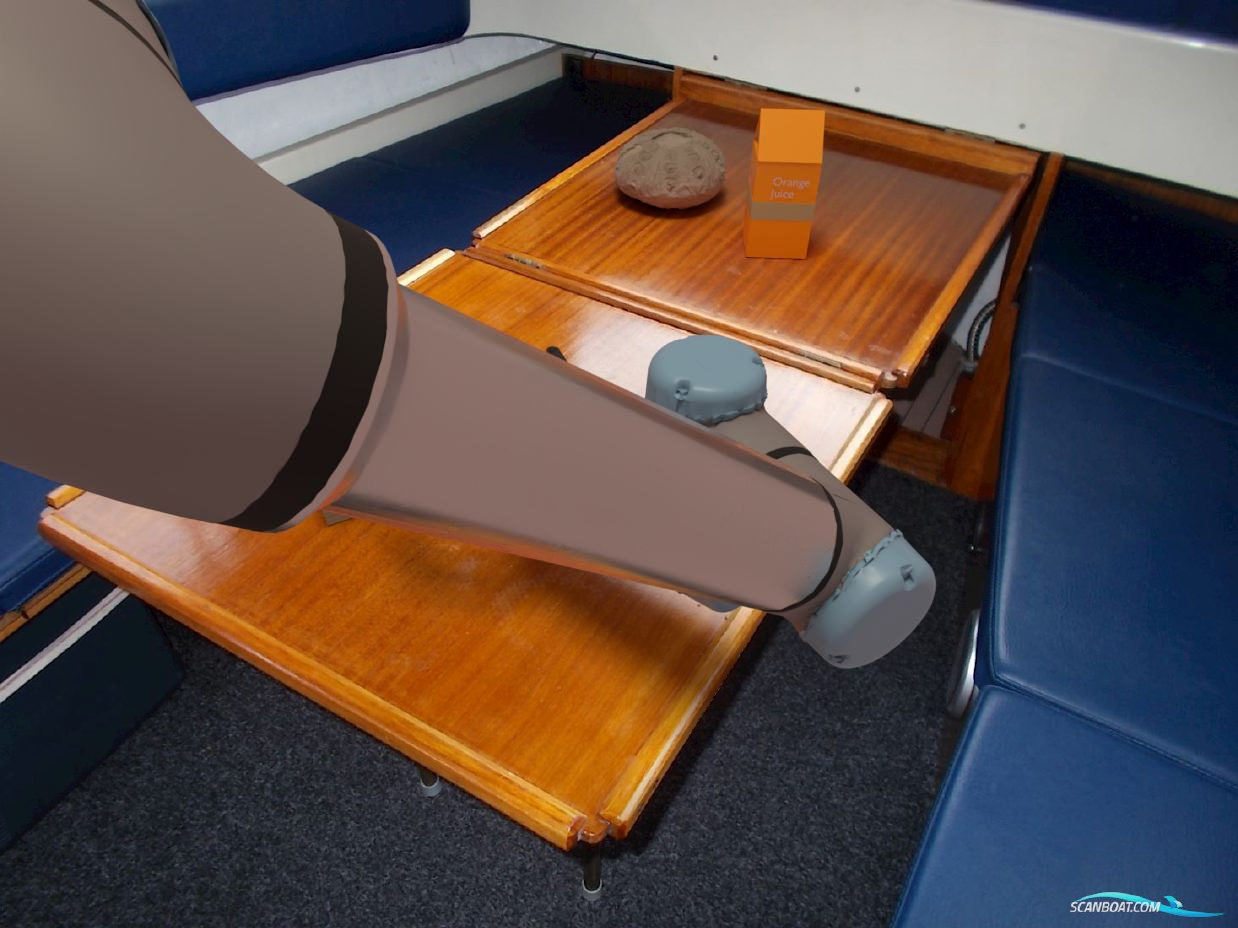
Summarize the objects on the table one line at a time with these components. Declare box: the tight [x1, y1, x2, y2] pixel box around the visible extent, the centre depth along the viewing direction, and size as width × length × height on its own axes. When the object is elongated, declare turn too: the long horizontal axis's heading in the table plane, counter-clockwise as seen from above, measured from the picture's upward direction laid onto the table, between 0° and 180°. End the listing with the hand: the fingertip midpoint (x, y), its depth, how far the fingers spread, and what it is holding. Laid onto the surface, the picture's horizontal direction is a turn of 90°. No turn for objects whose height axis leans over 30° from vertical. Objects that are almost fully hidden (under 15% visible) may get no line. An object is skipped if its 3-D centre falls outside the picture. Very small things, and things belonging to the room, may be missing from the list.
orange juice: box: [742, 107, 826, 259], centre depth 122 cm, size 8×9×20 cm
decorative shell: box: [613, 126, 727, 210], centre depth 137 cm, size 18×18×10 cm
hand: (416, 371), depth 78 cm, fingers open, 13 cm apart
